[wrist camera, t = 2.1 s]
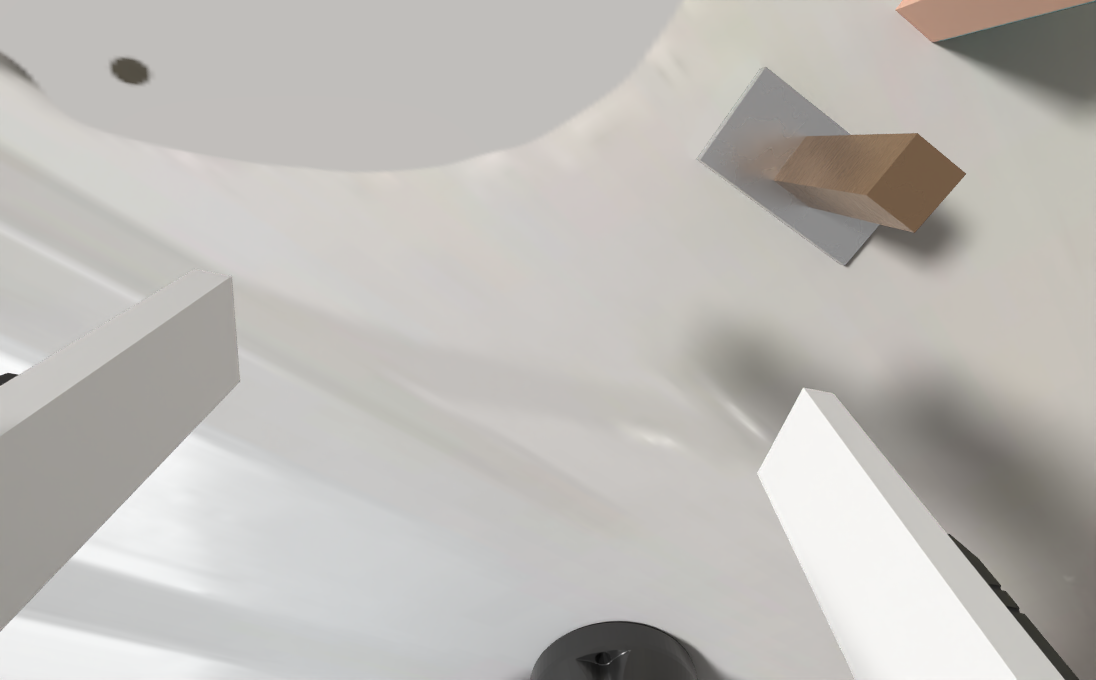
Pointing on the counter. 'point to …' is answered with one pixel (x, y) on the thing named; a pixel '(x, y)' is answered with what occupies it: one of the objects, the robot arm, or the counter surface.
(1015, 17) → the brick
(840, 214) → the trowel
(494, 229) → the counter surface
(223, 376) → the robot arm
